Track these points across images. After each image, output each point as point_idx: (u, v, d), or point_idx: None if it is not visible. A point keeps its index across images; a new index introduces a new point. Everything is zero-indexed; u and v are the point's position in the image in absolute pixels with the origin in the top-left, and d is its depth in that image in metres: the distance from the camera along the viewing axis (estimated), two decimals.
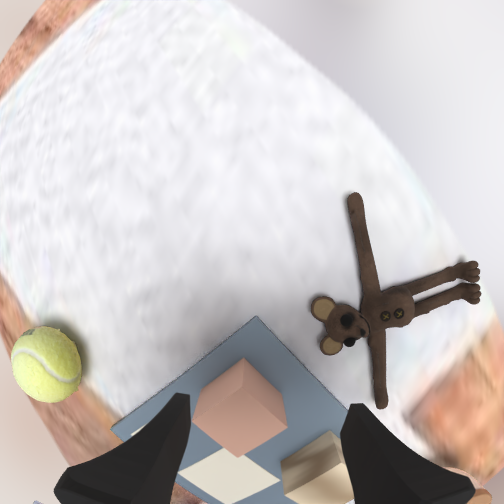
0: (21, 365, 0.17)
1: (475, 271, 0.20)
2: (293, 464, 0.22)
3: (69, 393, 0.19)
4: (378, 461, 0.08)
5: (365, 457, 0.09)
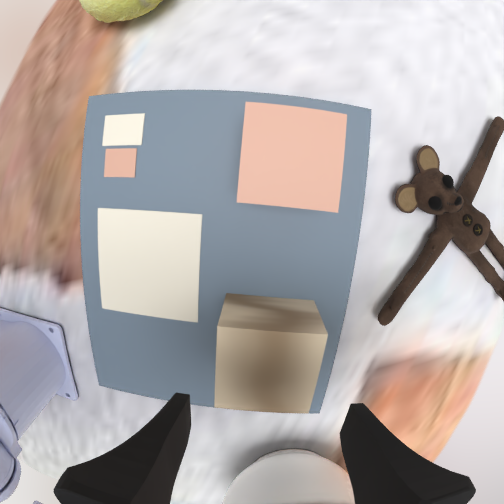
0: None
1: None
2: (246, 303, 0.18)
3: (119, 6, 0.12)
4: (378, 461, 0.08)
5: (366, 457, 0.09)
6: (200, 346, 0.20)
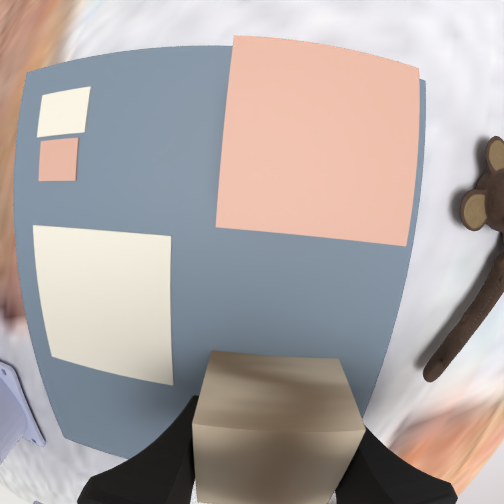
0: None
1: None
2: (240, 372, 0.11)
3: None
4: (358, 463, 0.08)
5: None
6: (180, 412, 0.14)
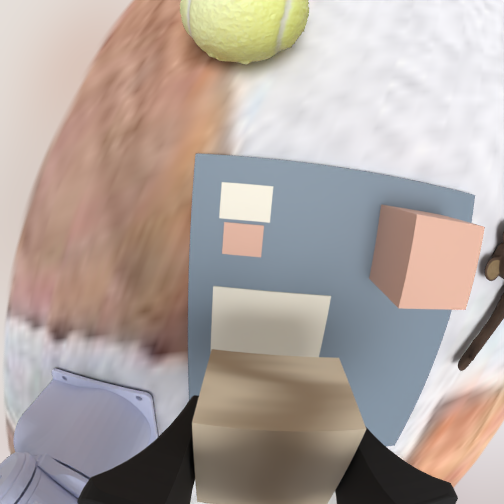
0: None
1: None
2: (240, 371, 0.11)
3: (251, 49, 0.12)
4: (358, 463, 0.08)
5: None
6: None
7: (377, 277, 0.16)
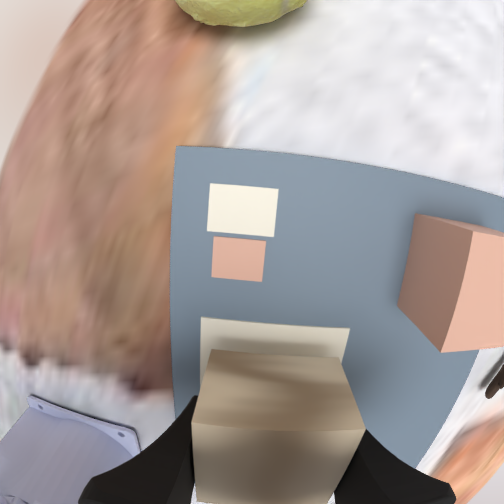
0: None
1: None
2: (240, 371, 0.11)
3: (249, 4, 0.08)
4: (356, 463, 0.08)
5: None
6: None
7: (410, 307, 0.12)
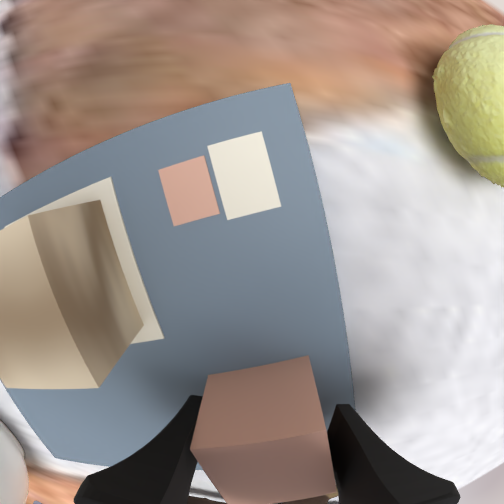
0: None
1: None
2: (92, 238, 0.10)
3: (474, 123, 0.07)
4: (361, 463, 0.08)
5: (349, 458, 0.09)
6: None
7: (214, 391, 0.12)
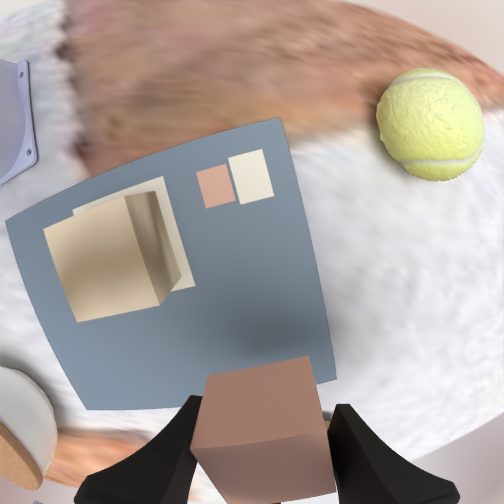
0: (477, 130, 0.11)
1: None
2: (153, 214, 0.17)
3: (396, 140, 0.14)
4: (361, 463, 0.08)
5: (349, 458, 0.09)
6: None
7: (214, 391, 0.12)
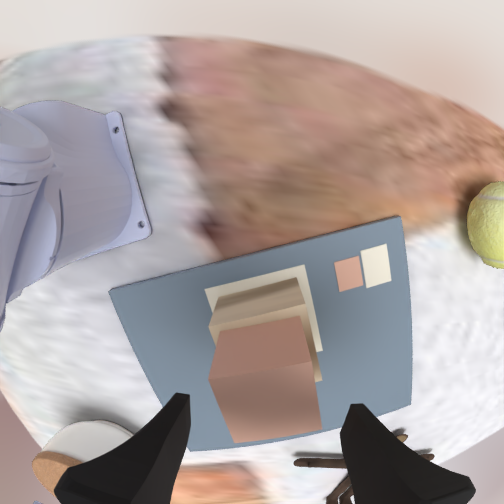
0: None
1: None
2: None
3: (484, 245, 0.17)
4: (378, 461, 0.08)
5: (366, 457, 0.09)
6: None
7: (225, 341, 0.16)
